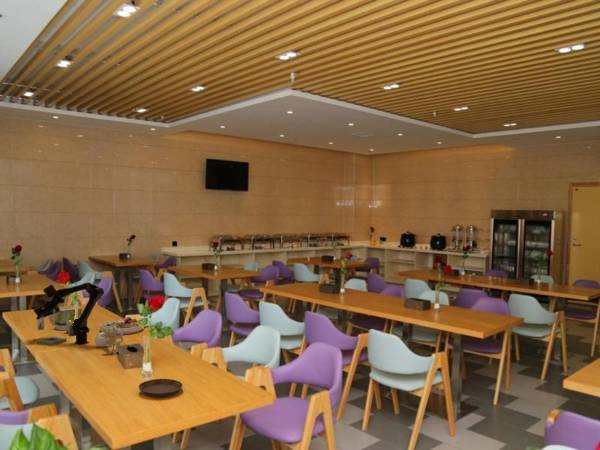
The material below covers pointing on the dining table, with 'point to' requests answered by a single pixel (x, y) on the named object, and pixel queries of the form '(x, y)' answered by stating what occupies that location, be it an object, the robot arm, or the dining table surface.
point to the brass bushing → (68, 326)
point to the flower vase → (109, 339)
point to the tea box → (65, 317)
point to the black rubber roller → (71, 331)
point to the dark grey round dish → (51, 341)
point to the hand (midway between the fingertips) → (39, 318)
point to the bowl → (122, 326)
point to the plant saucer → (160, 387)
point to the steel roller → (41, 323)
